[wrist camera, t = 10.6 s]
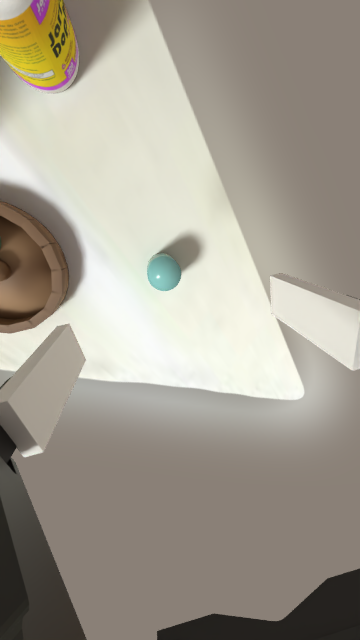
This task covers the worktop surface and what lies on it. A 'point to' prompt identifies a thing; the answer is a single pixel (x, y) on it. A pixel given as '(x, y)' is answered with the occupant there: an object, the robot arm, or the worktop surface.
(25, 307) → the walnut tray
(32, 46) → the supplement bottle
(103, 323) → the worktop surface
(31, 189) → the worktop surface
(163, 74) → the worktop surface
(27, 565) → the robot arm
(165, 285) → the teal bead
